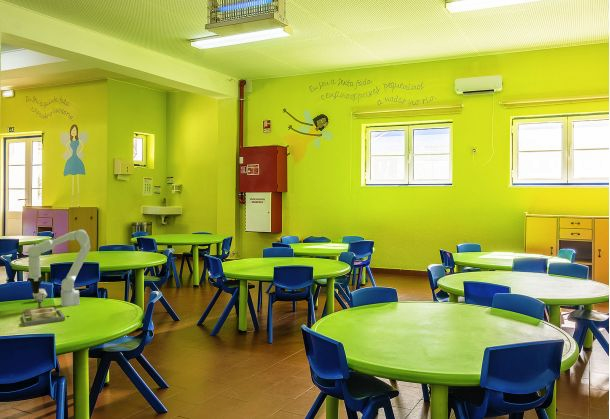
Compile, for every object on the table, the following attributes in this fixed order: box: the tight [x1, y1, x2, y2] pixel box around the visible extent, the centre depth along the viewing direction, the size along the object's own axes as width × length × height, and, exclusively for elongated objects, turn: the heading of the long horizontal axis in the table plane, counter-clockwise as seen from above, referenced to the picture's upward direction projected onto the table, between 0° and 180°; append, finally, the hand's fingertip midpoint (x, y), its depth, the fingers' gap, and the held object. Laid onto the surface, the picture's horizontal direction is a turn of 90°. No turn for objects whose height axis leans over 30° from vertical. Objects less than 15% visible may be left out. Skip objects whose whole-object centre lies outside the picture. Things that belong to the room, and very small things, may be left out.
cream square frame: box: [29, 307, 57, 321], centre depth 265 cm, size 11×12×4 cm
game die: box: [31, 287, 50, 302], centre depth 308 cm, size 9×8×10 cm
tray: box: [21, 309, 66, 327], centre depth 265 cm, size 18×18×2 cm
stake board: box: [22, 300, 57, 315], centre depth 280 cm, size 15×16×7 cm
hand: (35, 292), depth 286 cm, fingers open, 7 cm apart
